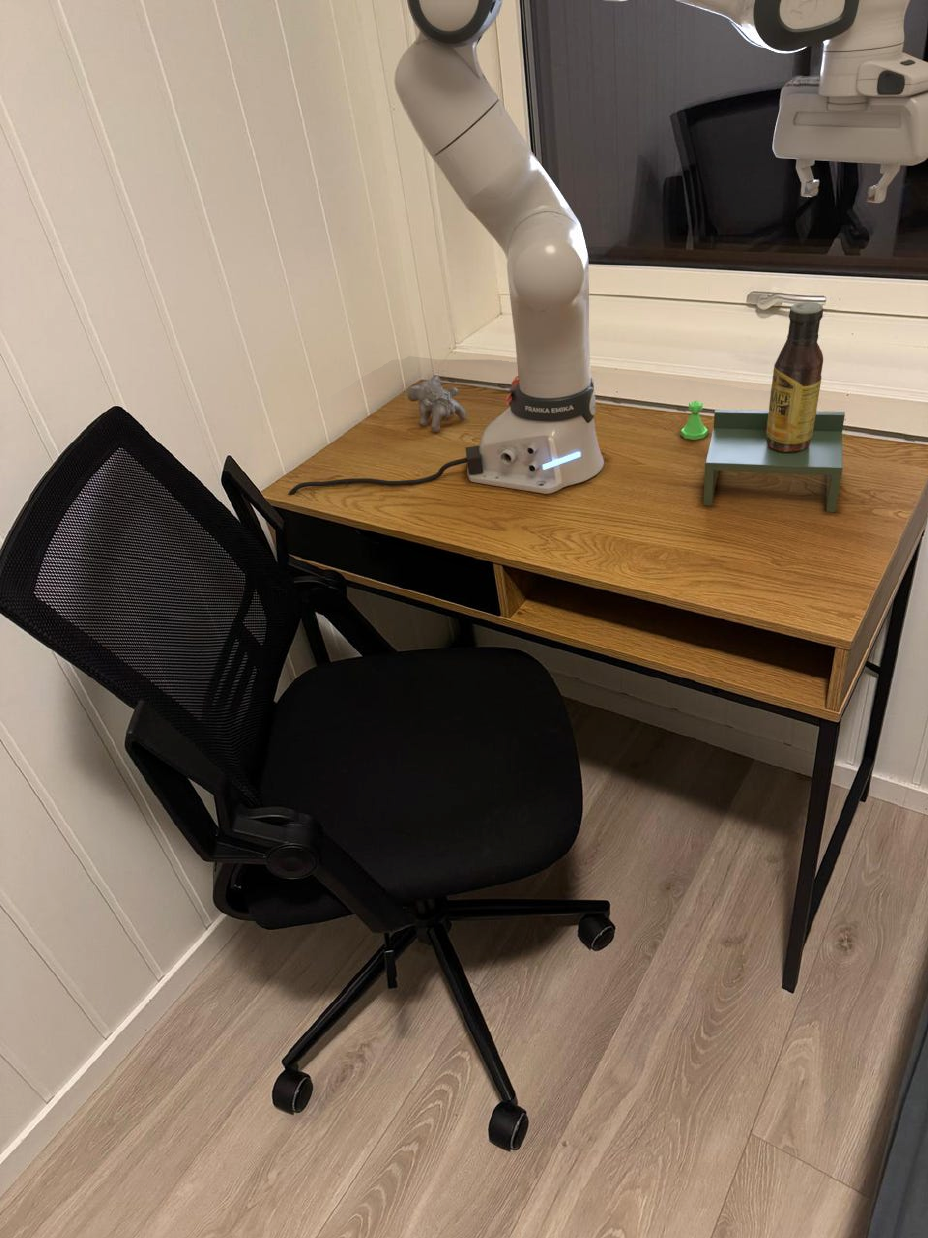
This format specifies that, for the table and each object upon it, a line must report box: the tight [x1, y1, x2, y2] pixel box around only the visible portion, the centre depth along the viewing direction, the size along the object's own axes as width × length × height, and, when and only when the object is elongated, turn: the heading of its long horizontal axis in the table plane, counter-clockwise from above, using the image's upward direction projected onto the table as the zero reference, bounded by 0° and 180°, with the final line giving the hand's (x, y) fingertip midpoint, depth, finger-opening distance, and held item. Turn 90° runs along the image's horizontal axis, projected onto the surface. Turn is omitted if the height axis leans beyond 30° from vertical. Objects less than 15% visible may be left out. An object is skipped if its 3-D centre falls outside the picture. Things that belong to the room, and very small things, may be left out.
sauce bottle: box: [766, 301, 824, 452], centre depth 116 cm, size 7×6×20 cm
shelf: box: [702, 409, 846, 513], centre depth 124 cm, size 18×12×10 cm, turn 71°
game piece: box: [680, 400, 709, 441], centre depth 142 cm, size 4×4×6 cm
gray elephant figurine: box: [406, 375, 467, 434], centre depth 158 cm, size 9×12×8 cm
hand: (841, 198), depth 112 cm, fingers open, 8 cm apart
